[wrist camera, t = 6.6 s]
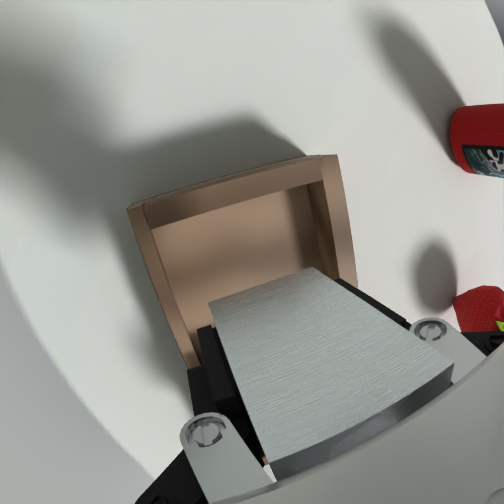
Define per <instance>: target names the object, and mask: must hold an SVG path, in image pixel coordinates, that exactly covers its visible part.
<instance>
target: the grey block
mask: <svg viewBox="0 0 504 504" xmlns="http://www.w3.org/2000/svg"><path fill="white" fill-rule="evenodd" d="M208 305H209V308H210V311H211V314H212V317H213V320H214V323H215V325H216V328H217V331H218V334H219V337H220V340H221V342H222V345H223V348H224V351H225V354H226V356H227V359H228V362H229V364H230V367H231V370H232V373H233V375H234V378H235V381H236V383H237V386H238V388H239V391H240V394H241V396H242V399H243V401H244V404H245V406H246V409H247V411H248V414H249V417H250V419H251V421H252V424H253V426H254V429H255V431H256V434H257V436H258V439H259V441H260V443H261V446H262V448H263V451H264V453H265V455H266V458H267V460H268V462H269V465H270V467H271V469H272V471H273V474H274V476H275V478H276V480H277V482H278V481H280V480H283V479H286V478H288V477H291V476H293V475H296V474H298V473H301V472H303V471H306V470H308V469H310V468H313V467H315V466H317V465H319V464H322V463H324V462H326V461H328V460H330V459H332V458H334V457H337V456H339V455H341V454H343V453H345V452H347V451H349V450H351V449H353V448H354V447H356V446H358V445H360V444H362V443H364V442H366V441H368V440H369V439H371V438H373V437H375V436H377V435H378V434H380V433H382V432H383V431H385V430H387V429H389V428H390V427H392V426H394V425H395V424H397V423H398V422H400V421H402V420H403V419H405V418H406V417H408V416H410V415H411V414H413V413H414V412H416V411H417V410H419V409H420V408H422V407H423V406H424V405H426V404H427V403H429V402H430V401H432V400H433V399H434V398H436V397H437V396H439V395H440V394H441V393H443V392H444V391H445V390H447V389H448V388H449V387H450V383H451V378H452V373H453V368H454V362H453V361H451V360H450V359H448V358H447V357H445V356H444V355H443V354H441V353H440V352H438V351H437V350H435V349H434V348H432V347H431V346H430V345H428V344H427V343H425V342H424V341H422V340H421V339H419V338H418V337H416V336H415V335H414V334H412V333H411V332H409V331H408V330H406V329H405V328H403V327H402V326H400V325H399V324H397V323H396V322H394V321H393V320H392V319H390V318H389V317H387V316H386V315H384V314H383V313H381V312H380V311H378V310H377V309H375V308H374V307H372V306H371V305H369V304H368V303H366V302H365V301H363V300H362V299H360V298H359V297H357V296H356V295H354V294H353V293H351V292H350V291H348V290H347V289H345V288H344V287H342V286H341V285H339V284H338V283H336V282H335V281H333V280H332V279H330V278H329V277H327V276H326V275H324V274H323V273H321V272H320V271H318V270H316V269H315V268H313V267H312V266H311V267H309V268H306V269H303V270H300V271H297V272H295V273H292V274H289V275H286V276H283V277H280V278H278V279H275V280H272V281H269V282H266V283H263V284H260V285H257V286H254V287H252V288H249V289H246V290H243V291H240V292H237V293H234V294H231V295H228V296H225V297H222V298H219V299H216V300H213V301H210V302H208Z"/></svg>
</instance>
